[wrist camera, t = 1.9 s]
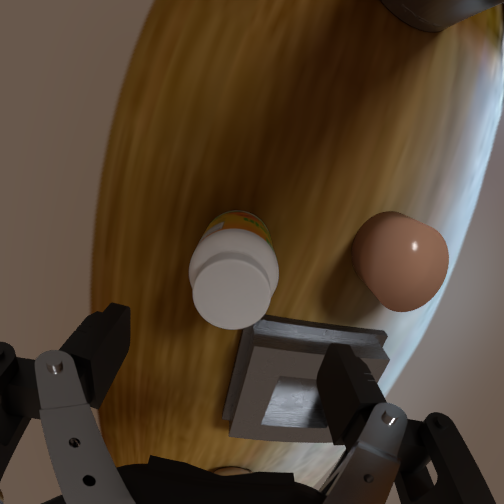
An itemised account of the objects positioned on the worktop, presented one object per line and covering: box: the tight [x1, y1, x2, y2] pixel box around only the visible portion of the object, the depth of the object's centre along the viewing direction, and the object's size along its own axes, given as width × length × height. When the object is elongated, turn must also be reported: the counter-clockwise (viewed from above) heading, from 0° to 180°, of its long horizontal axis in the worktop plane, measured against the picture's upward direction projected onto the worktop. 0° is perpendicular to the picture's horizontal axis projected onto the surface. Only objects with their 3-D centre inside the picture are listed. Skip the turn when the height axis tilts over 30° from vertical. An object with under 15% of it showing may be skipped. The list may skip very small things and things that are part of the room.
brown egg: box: [351, 211, 449, 312], centre depth 22 cm, size 7×7×5 cm
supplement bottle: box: [189, 210, 279, 330], centre depth 19 cm, size 5×5×10 cm
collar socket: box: [222, 314, 390, 443], centre depth 27 cm, size 14×14×4 cm
